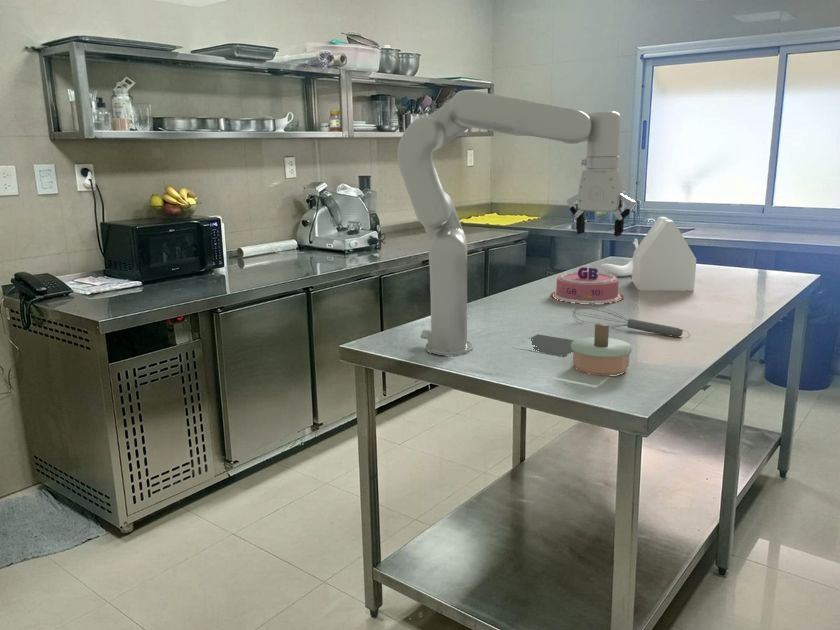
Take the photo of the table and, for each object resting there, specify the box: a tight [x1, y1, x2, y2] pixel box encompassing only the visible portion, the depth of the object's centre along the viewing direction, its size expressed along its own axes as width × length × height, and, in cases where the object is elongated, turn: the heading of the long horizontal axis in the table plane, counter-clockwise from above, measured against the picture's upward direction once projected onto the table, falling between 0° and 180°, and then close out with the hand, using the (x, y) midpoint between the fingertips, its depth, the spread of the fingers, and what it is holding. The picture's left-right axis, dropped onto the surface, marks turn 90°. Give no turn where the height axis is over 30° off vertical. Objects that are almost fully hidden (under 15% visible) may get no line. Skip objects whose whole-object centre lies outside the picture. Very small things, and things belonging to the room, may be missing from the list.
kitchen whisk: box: [572, 304, 690, 338], centre depth 191 cm, size 6×34×6 cm, turn 55°
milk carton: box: [631, 216, 697, 292], centre depth 246 cm, size 19×15×25 cm
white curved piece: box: [600, 238, 639, 277], centre depth 267 cm, size 5×19×15 cm, turn 113°
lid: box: [571, 322, 633, 358], centre depth 158 cm, size 14×14×6 cm
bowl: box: [572, 351, 630, 376], centre depth 159 cm, size 12×12×5 cm
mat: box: [528, 333, 574, 358], centre depth 178 cm, size 15×15×1 cm
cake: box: [550, 266, 625, 305], centre depth 233 cm, size 25×25×11 cm
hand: (599, 234), depth 167 cm, fingers open, 9 cm apart
